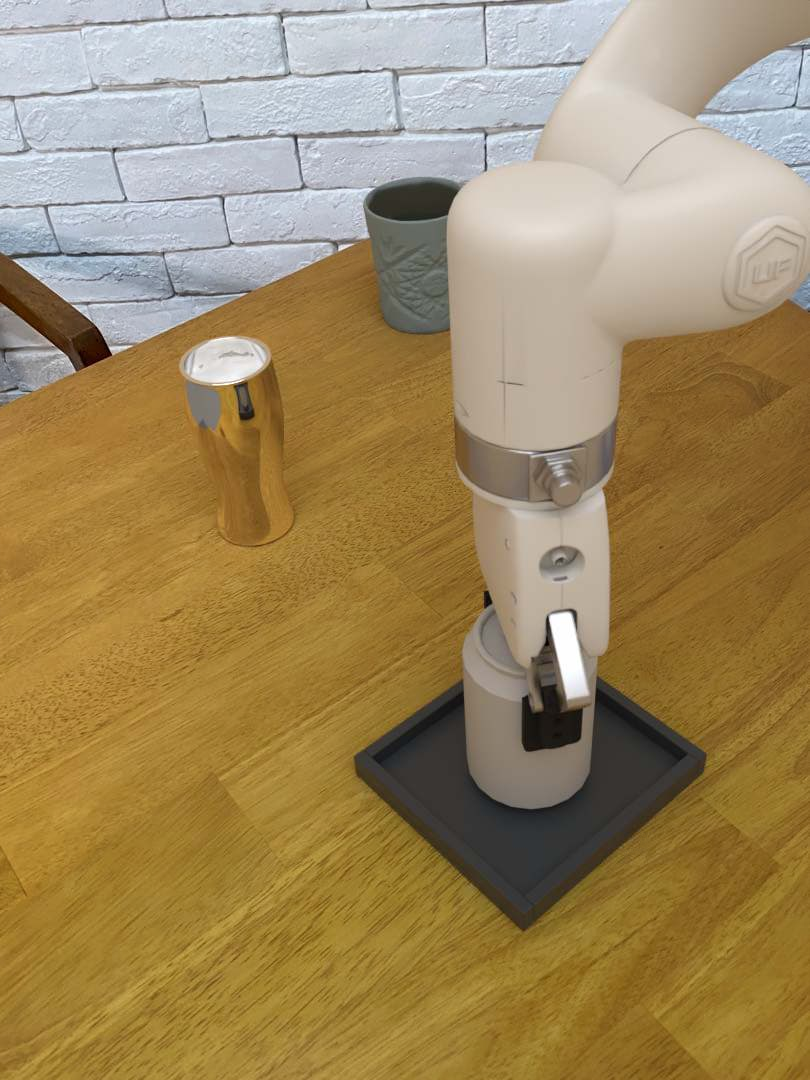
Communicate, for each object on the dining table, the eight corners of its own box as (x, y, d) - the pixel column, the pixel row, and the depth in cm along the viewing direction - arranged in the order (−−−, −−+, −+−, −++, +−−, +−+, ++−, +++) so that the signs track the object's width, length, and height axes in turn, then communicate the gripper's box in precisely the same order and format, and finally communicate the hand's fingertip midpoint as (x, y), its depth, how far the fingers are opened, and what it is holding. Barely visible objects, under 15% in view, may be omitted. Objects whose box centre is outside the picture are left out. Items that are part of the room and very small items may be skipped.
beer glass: (278, 557, 86) (249, 392, 76) (197, 542, 88) (158, 379, 78) (313, 501, 91) (289, 339, 81) (235, 488, 93) (203, 328, 83)
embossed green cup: (448, 345, 108) (444, 228, 100) (354, 327, 111) (343, 212, 103) (488, 296, 114) (487, 182, 107) (399, 280, 118) (391, 169, 110)
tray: (531, 647, 78) (531, 628, 76) (704, 772, 69) (707, 753, 68) (355, 774, 70) (353, 756, 69) (523, 932, 62) (523, 914, 60)
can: (573, 832, 65) (581, 695, 58) (451, 799, 68) (442, 663, 60) (602, 734, 71) (613, 597, 63) (487, 707, 73) (484, 571, 65)
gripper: (679, 541, 47) (646, 798, 58) (558, 332, 60) (550, 576, 71) (504, 572, 46) (505, 826, 58) (419, 353, 59) (434, 596, 71)
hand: (530, 686), depth 64 cm, fingers closed on can, 7 cm apart
